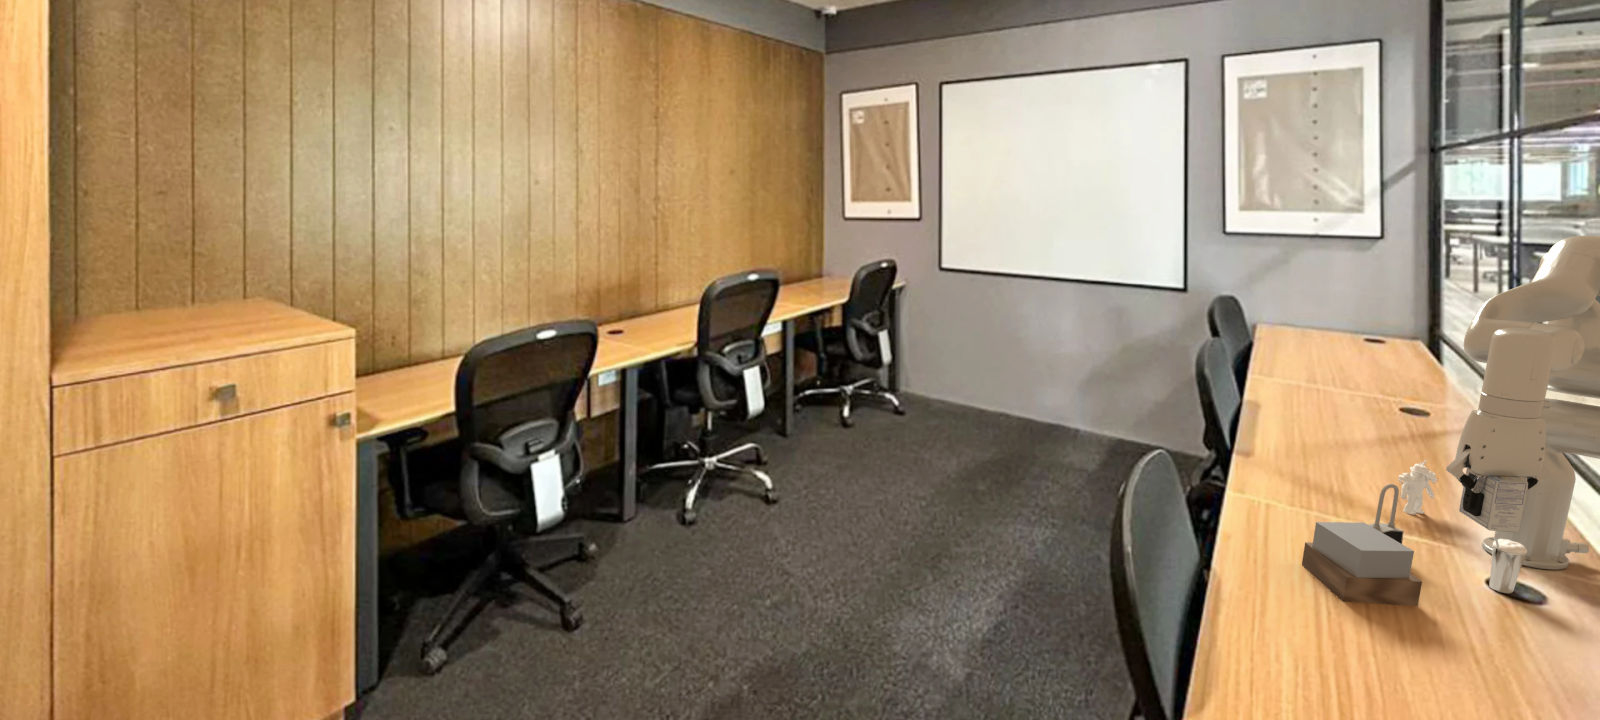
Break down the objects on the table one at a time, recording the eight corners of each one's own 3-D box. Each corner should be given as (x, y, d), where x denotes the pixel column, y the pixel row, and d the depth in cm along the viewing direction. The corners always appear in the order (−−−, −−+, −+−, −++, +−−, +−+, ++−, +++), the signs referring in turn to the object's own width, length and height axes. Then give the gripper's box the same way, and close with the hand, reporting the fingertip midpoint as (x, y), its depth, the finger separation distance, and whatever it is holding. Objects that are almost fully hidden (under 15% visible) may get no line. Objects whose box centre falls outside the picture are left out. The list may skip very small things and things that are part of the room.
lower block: (1368, 570, 148) (1373, 546, 147) (1417, 608, 134) (1422, 581, 133) (1301, 566, 149) (1305, 542, 148) (1342, 603, 136) (1346, 577, 135)
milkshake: (1473, 583, 143) (1483, 532, 140) (1500, 582, 143) (1511, 531, 141) (1497, 596, 138) (1508, 543, 136) (1525, 595, 139) (1536, 542, 136)
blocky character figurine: (1420, 507, 178) (1429, 456, 176) (1437, 513, 175) (1447, 462, 172) (1388, 510, 176) (1396, 459, 174) (1404, 516, 173) (1413, 465, 170)
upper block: (1360, 547, 146) (1364, 522, 145) (1409, 578, 135) (1414, 551, 134) (1312, 547, 146) (1316, 522, 145) (1356, 577, 134) (1361, 550, 133)
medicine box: (1519, 533, 124) (1530, 482, 122) (1487, 531, 125) (1497, 480, 123) (1487, 513, 132) (1497, 464, 130) (1457, 511, 133) (1466, 463, 131)
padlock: (1373, 562, 150) (1386, 489, 147) (1354, 553, 154) (1366, 481, 151) (1402, 560, 152) (1416, 486, 149) (1383, 550, 156) (1395, 479, 153)
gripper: (1551, 401, 127) (1529, 507, 131) (1436, 398, 129) (1418, 502, 133) (1590, 414, 119) (1565, 526, 123) (1467, 411, 122) (1447, 520, 126)
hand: (1489, 512), depth 128 cm, fingers closed on medicine box, 4 cm apart
